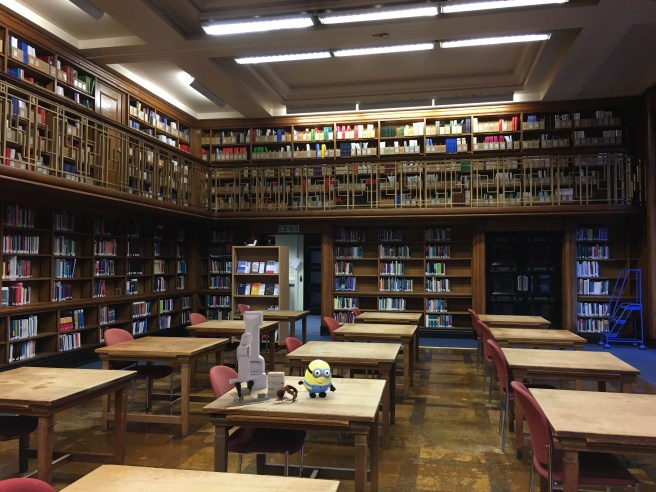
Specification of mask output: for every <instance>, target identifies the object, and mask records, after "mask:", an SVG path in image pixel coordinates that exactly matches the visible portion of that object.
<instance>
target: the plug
mask: <svg viewBox="0 0 656 492" xmlns="http://www.w3.org/2000/svg"><path fill="white" fill-rule="evenodd" d="M245 395H249V389H248V388H247V386H245V387H241V398H239V397H238V399H239V400H243V396H245Z"/></svg>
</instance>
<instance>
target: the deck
mask: <svg viewBox="0 0 656 492" xmlns="http://www.w3.org/2000/svg"><path fill="white" fill-rule="evenodd" d="M229 395H231V396H232V397H233V398H234V397H237V398H239V397H238V393H237V392H231V393H230V392H229Z"/></svg>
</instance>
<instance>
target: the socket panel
mask: <svg viewBox="0 0 656 492" xmlns="http://www.w3.org/2000/svg"><path fill="white" fill-rule="evenodd" d="M270 398H271V397H270V396H269V395H268V394H266V393H265V397H264V398H258V397H254V396H252V395H251V399H249V400H239V397H233V400H234V401H235V402H237V404H240V405H238V407H241V406H243V404H245V406H248V405H249V406H250V403H253V402H254V403H253V405H254V404H257V402H258V401H259V402H260V401H263V402H260V404H263V403H265V401H266V400H269V401H267V403H269V402H270V400H271V399H270ZM247 403H248V404H247Z"/></svg>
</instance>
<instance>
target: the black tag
mask: <svg viewBox="0 0 656 492" xmlns="http://www.w3.org/2000/svg"><path fill="white" fill-rule="evenodd" d="M265 394H266V393H265V392H261V393H260V392H259V393H257V398H264V397H265Z"/></svg>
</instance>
